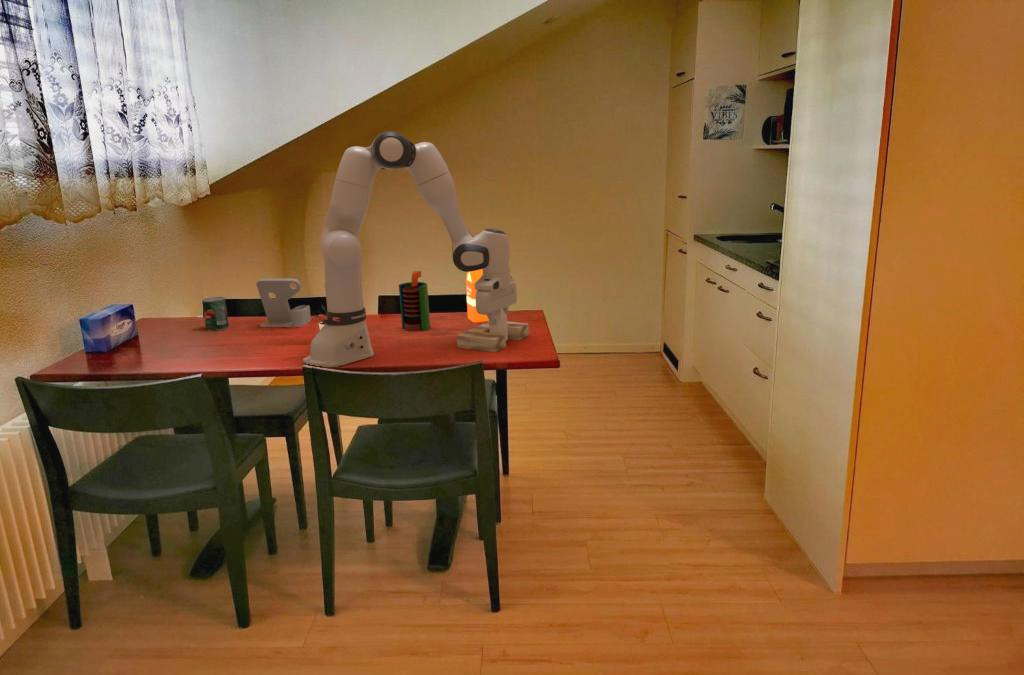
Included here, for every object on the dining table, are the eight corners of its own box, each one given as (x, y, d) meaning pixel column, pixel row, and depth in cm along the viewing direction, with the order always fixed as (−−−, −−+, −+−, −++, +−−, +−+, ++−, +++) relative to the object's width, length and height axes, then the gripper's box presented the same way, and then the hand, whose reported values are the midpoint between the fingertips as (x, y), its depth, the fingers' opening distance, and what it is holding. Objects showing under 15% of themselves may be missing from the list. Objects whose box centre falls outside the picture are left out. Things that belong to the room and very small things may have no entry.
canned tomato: (201, 330, 266) (197, 301, 263) (214, 325, 273) (210, 296, 270) (220, 331, 264) (216, 301, 261) (233, 326, 271) (229, 297, 269)
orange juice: (467, 318, 271) (464, 264, 266) (489, 315, 274) (487, 262, 269) (473, 322, 264) (471, 267, 259) (496, 320, 267) (494, 265, 262)
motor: (397, 330, 257) (393, 274, 252) (409, 324, 265) (405, 269, 260) (424, 331, 254) (420, 274, 249) (434, 325, 262) (431, 270, 257)
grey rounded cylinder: (487, 306, 232) (488, 302, 237) (488, 342, 235) (490, 337, 240) (506, 305, 231) (507, 302, 237) (507, 342, 235) (508, 337, 240)
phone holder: (314, 321, 275) (309, 274, 270) (302, 328, 265) (297, 279, 260) (271, 321, 277) (265, 274, 273) (258, 327, 268) (251, 279, 263)
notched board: (495, 352, 226) (494, 339, 225) (457, 347, 233) (456, 335, 232) (528, 335, 244) (528, 323, 243) (492, 331, 251) (492, 320, 250)
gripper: (504, 274, 243) (505, 314, 246) (471, 285, 225) (473, 328, 229) (521, 275, 240) (522, 316, 243) (488, 286, 222) (490, 330, 226)
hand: (498, 322), depth 236 cm, fingers closed on grey rounded cylinder, 5 cm apart
